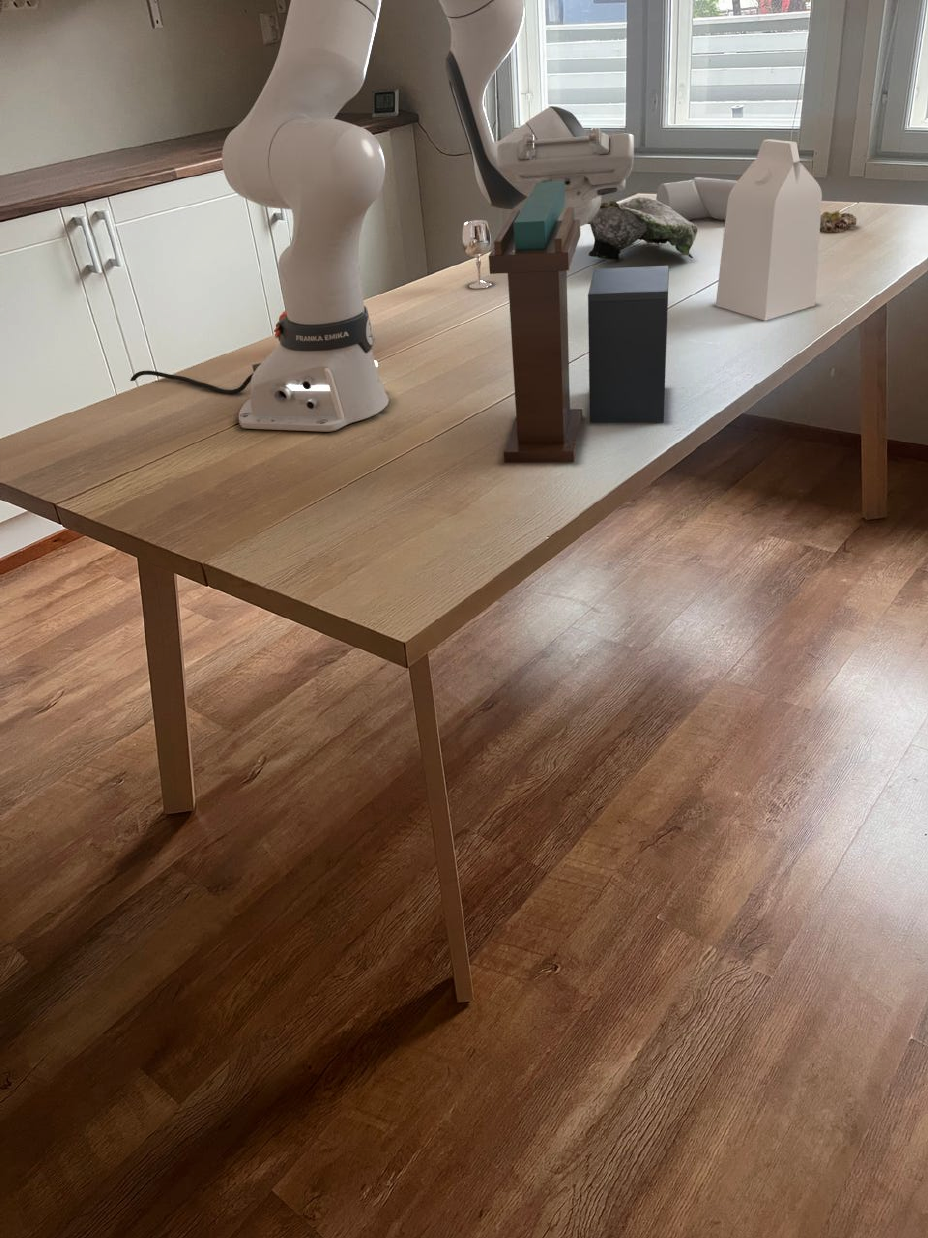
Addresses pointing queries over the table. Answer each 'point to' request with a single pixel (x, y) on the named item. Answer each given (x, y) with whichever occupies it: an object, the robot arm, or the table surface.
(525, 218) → the teal block
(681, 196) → the bent grey cylinder
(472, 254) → the wineglass
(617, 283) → the slate crate
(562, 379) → the walnut stand
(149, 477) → the table surface
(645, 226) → the mossy grey boulder
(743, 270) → the milk
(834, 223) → the mineral rock
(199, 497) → the table surface
